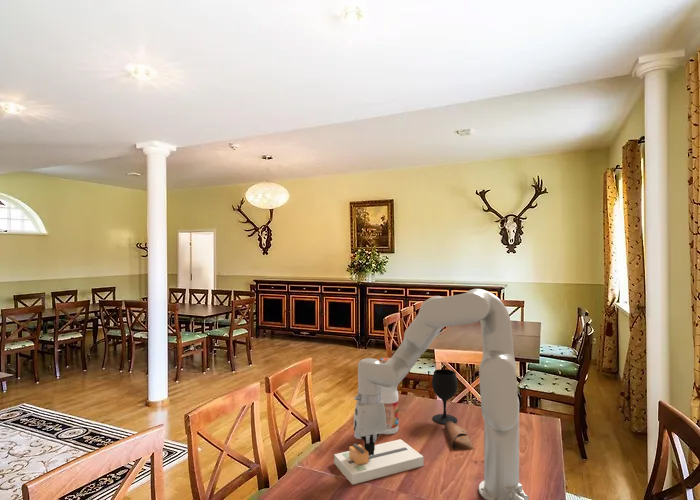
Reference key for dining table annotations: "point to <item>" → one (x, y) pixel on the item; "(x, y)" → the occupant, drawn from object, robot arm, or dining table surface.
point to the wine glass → (444, 392)
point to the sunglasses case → (458, 437)
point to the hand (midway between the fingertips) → (369, 453)
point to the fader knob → (358, 454)
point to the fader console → (380, 462)
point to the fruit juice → (390, 406)
